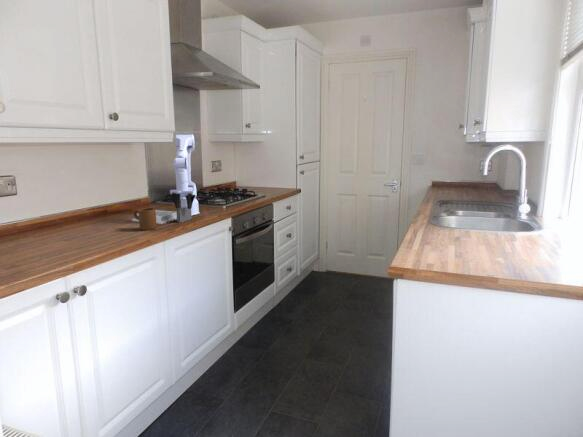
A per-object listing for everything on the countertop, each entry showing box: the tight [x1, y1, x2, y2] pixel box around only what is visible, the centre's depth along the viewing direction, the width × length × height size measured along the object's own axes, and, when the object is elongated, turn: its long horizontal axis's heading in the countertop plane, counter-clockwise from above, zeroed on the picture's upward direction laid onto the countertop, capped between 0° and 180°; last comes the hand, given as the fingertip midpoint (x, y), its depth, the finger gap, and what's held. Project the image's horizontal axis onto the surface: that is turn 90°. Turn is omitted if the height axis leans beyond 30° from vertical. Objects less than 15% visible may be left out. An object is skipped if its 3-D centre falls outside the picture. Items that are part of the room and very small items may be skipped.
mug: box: [132, 207, 158, 232], centre depth 193 cm, size 12×8×9 cm, turn 66°
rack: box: [131, 209, 177, 225], centre depth 215 cm, size 16×20×4 cm
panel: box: [175, 207, 193, 223], centre depth 211 cm, size 9×2×7 cm, turn 155°
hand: (183, 208), depth 210 cm, fingers open, 7 cm apart
